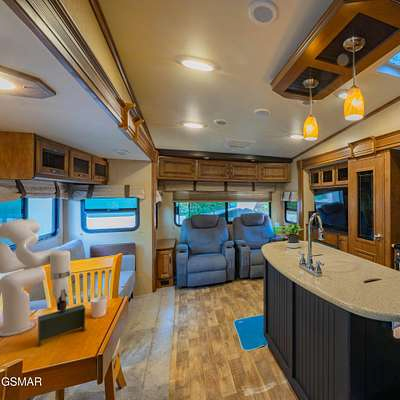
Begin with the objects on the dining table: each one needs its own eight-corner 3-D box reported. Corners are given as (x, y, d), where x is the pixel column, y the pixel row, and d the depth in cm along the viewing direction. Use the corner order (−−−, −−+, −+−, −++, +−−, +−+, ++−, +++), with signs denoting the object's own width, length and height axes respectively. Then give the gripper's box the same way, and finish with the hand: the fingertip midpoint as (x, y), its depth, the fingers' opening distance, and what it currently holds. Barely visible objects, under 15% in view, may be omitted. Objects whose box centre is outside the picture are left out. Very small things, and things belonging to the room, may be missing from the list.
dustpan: (38, 341, 122) (37, 307, 120) (82, 326, 136) (83, 295, 134) (39, 346, 120) (39, 311, 117) (84, 330, 133) (85, 299, 131)
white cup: (97, 319, 145) (97, 302, 144) (87, 317, 146) (86, 301, 146) (110, 312, 152) (110, 297, 152) (100, 311, 154) (100, 295, 154)
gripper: (48, 273, 129) (49, 307, 129) (53, 280, 119) (54, 316, 120) (67, 269, 134) (68, 302, 135) (73, 276, 125) (74, 310, 126)
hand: (61, 309), depth 128 cm, fingers closed
